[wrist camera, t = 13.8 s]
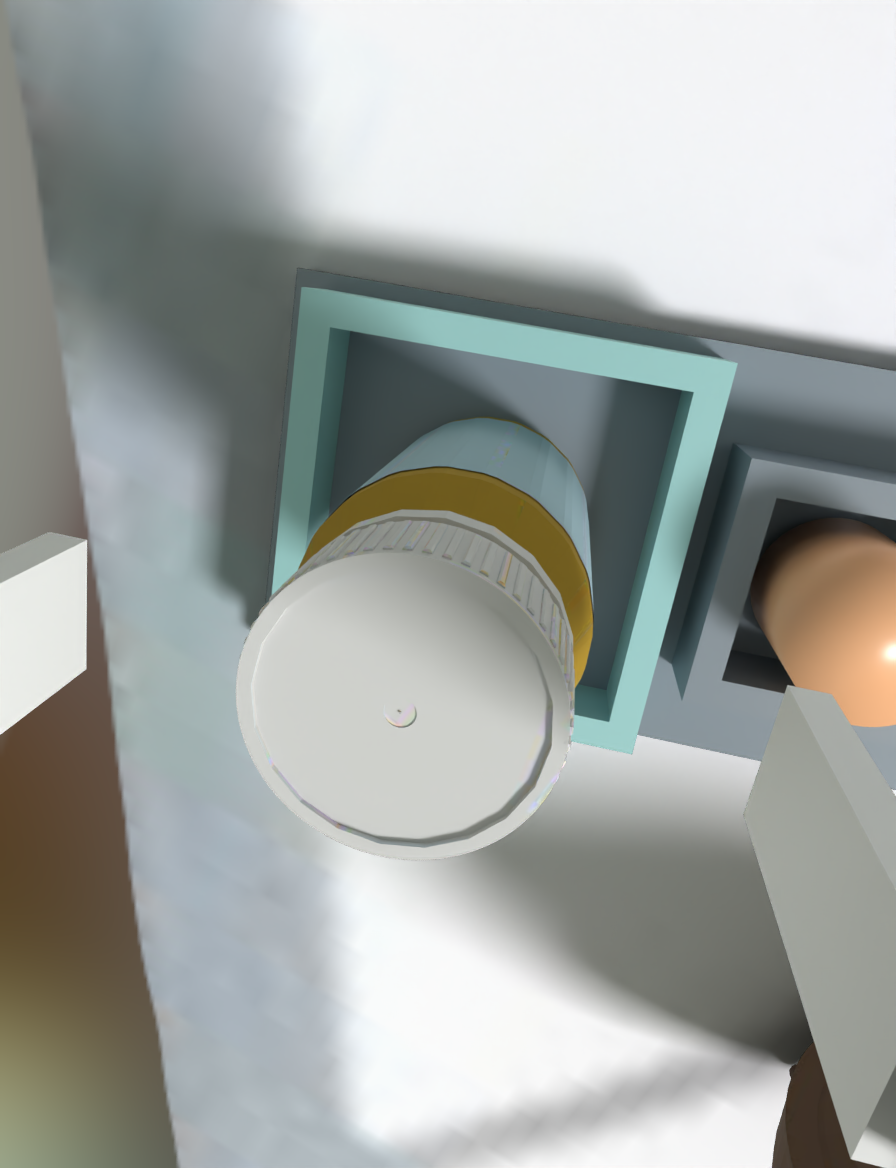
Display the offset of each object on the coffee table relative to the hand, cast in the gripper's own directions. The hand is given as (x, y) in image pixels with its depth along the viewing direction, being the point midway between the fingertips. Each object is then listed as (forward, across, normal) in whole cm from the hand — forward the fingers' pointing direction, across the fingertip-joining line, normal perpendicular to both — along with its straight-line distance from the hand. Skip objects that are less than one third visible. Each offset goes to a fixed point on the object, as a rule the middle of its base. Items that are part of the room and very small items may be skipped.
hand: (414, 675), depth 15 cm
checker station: (+15, +4, -1) cm, 16 cm away
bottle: (+14, 0, -1) cm, 14 cm away
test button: (+13, +11, -1) cm, 18 cm away
